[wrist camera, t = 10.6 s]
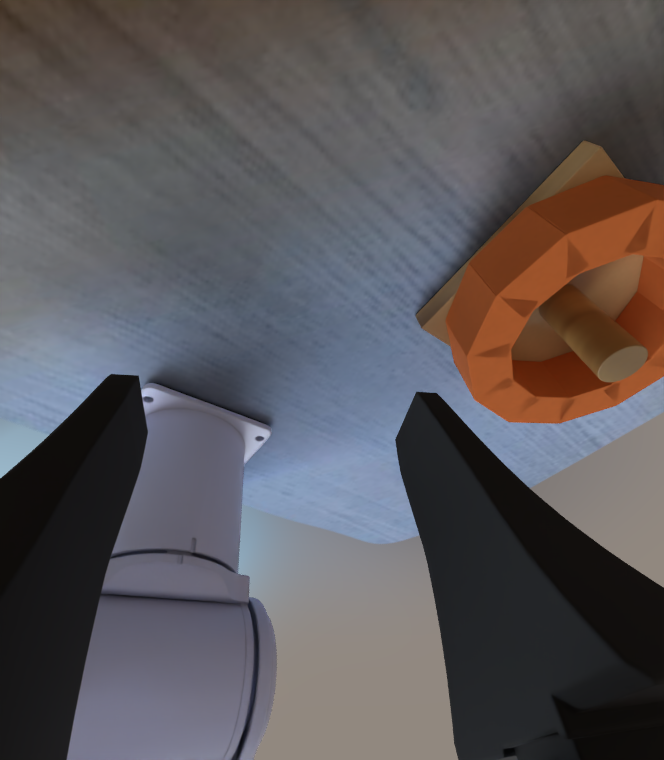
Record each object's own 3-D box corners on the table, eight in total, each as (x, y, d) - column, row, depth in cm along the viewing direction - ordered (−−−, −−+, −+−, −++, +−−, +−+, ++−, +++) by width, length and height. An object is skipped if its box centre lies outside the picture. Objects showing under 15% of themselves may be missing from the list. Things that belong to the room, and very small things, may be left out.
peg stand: (522, 385, 26) (576, 463, 21) (414, 315, 21) (454, 396, 17) (678, 264, 21) (792, 332, 16) (583, 139, 16) (706, 185, 12)
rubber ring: (419, 382, 23) (435, 420, 21) (510, 158, 15) (551, 182, 13) (591, 389, 25) (622, 425, 23) (744, 198, 18) (813, 224, 15)
